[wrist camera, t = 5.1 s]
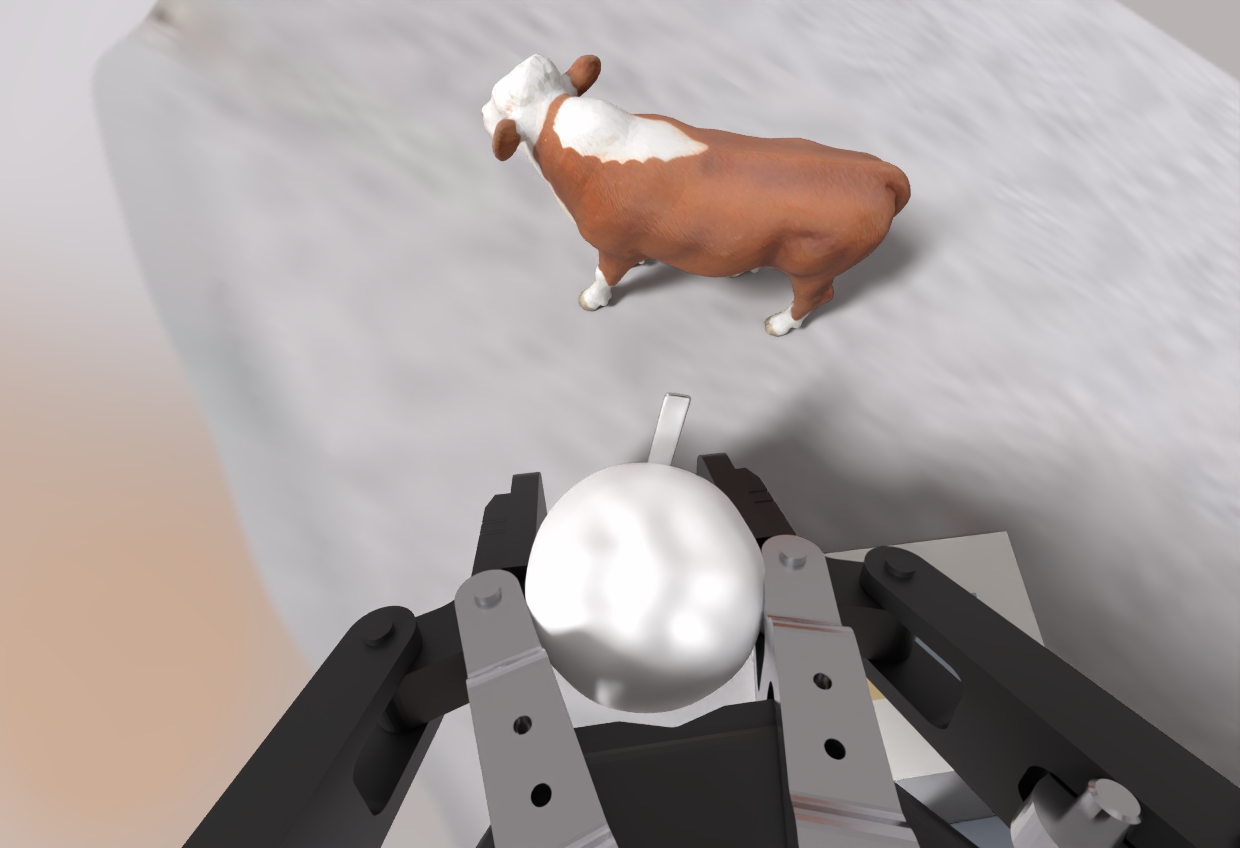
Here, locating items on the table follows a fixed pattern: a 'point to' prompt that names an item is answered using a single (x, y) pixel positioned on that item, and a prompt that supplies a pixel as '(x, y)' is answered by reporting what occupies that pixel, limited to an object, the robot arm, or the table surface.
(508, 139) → the bull figurine
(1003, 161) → the table surface
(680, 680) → the milkshake
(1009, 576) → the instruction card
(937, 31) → the table surface
